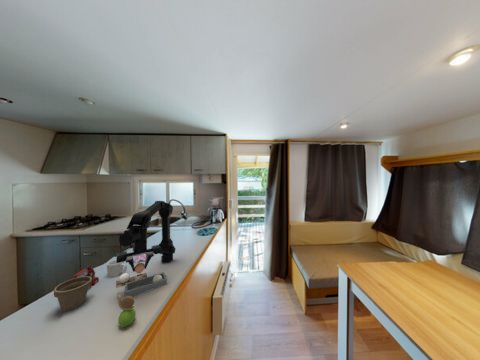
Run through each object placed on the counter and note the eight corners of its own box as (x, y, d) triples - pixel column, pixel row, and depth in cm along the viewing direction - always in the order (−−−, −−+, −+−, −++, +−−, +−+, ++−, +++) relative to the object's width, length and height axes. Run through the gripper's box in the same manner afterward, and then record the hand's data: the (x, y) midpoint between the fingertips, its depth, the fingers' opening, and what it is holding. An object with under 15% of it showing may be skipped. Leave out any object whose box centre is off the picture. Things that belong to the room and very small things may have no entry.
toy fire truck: (101, 281, 88) (101, 261, 88) (82, 296, 75) (83, 274, 76) (86, 282, 86) (87, 262, 87) (65, 298, 74) (66, 275, 74)
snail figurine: (121, 318, 63) (122, 287, 63) (138, 317, 64) (139, 287, 64) (111, 331, 58) (112, 297, 58) (130, 330, 58) (130, 296, 59)
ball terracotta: (145, 273, 79) (145, 263, 80) (134, 276, 77) (134, 266, 77) (144, 269, 83) (144, 260, 83) (133, 271, 80) (134, 262, 80)
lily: (125, 265, 106) (127, 255, 103) (134, 251, 117) (136, 241, 114) (144, 268, 109) (147, 258, 106) (151, 255, 120) (154, 245, 117)
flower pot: (74, 296, 75) (75, 275, 75) (98, 297, 75) (98, 275, 75) (43, 317, 64) (44, 291, 64) (71, 318, 63) (72, 292, 64)
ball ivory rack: (129, 278, 88) (129, 270, 88) (129, 282, 84) (129, 274, 84) (119, 281, 85) (119, 273, 85) (118, 286, 82) (119, 277, 82)
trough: (163, 278, 90) (163, 272, 90) (166, 286, 83) (166, 279, 83) (125, 291, 79) (125, 283, 79) (125, 300, 73) (125, 292, 73)
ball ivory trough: (161, 280, 88) (161, 271, 88) (162, 284, 84) (163, 275, 84) (151, 283, 85) (152, 274, 85) (153, 287, 81) (153, 278, 81)
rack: (146, 274, 94) (146, 271, 94) (147, 280, 88) (147, 277, 88) (116, 283, 86) (116, 280, 86) (115, 290, 80) (115, 287, 80)
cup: (131, 272, 96) (131, 258, 96) (120, 280, 88) (120, 265, 88) (115, 271, 97) (115, 258, 97) (102, 279, 89) (102, 264, 89)
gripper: (158, 231, 92) (157, 259, 92) (117, 238, 81) (116, 269, 81) (161, 236, 83) (161, 267, 83) (116, 244, 72) (115, 279, 72)
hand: (139, 270), depth 80 cm, fingers closed on ball terracotta, 4 cm apart
